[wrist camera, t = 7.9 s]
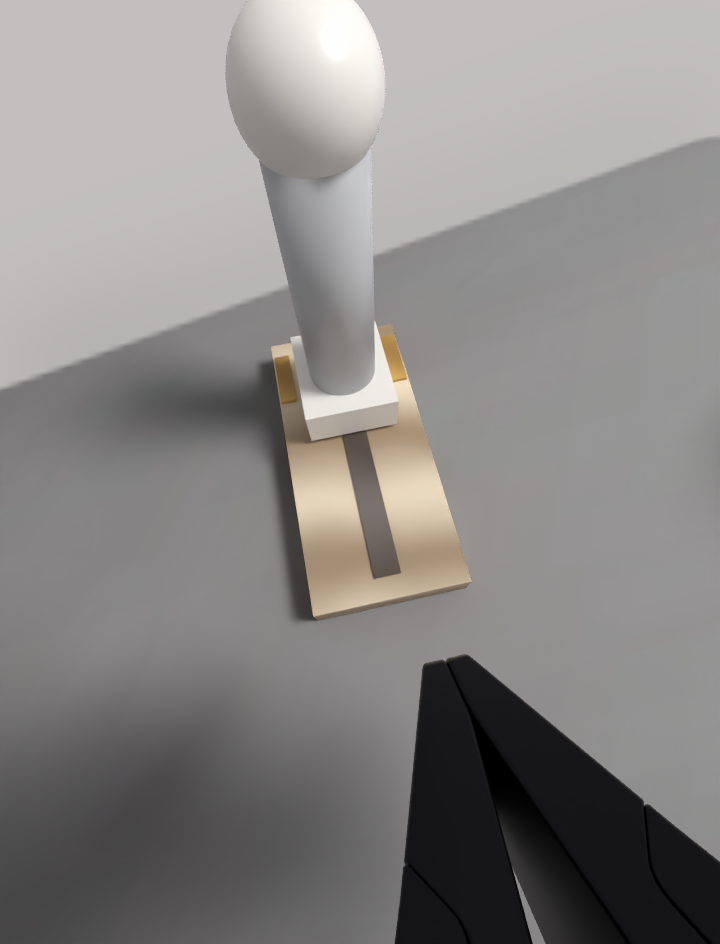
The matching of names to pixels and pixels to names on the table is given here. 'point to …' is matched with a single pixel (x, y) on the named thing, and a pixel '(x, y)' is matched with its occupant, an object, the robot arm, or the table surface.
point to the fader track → (369, 503)
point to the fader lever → (319, 191)
